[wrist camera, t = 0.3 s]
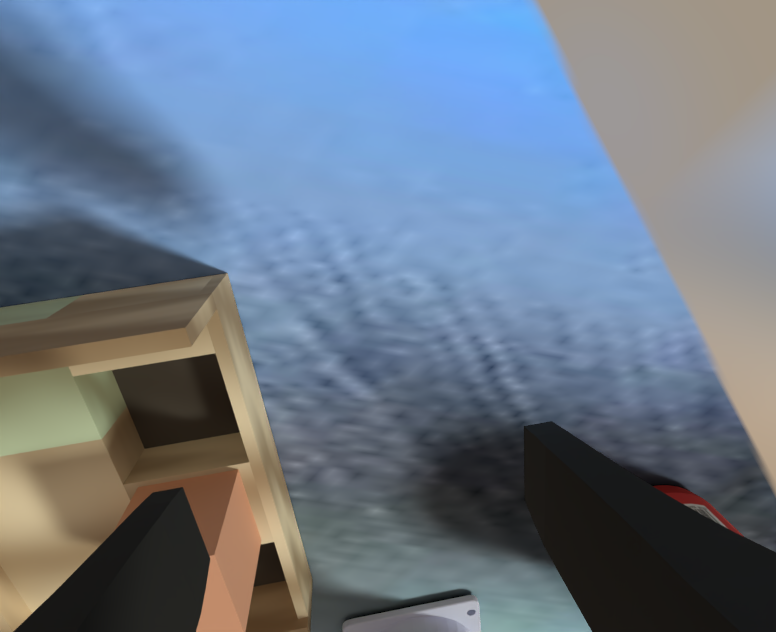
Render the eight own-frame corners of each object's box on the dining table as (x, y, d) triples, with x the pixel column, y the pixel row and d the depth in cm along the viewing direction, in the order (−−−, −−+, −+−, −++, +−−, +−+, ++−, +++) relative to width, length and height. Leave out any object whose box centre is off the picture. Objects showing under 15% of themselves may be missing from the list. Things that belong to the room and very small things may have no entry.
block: (261, 539, 19) (244, 633, 16) (169, 557, 19) (130, 657, 16) (238, 469, 18) (214, 555, 14) (137, 487, 18) (87, 579, 14)
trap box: (312, 580, 24) (307, 695, 19) (86, 624, 23) (20, 755, 18) (227, 272, 17) (185, 327, 12) (-95, 321, 17) (-278, 400, 12)
